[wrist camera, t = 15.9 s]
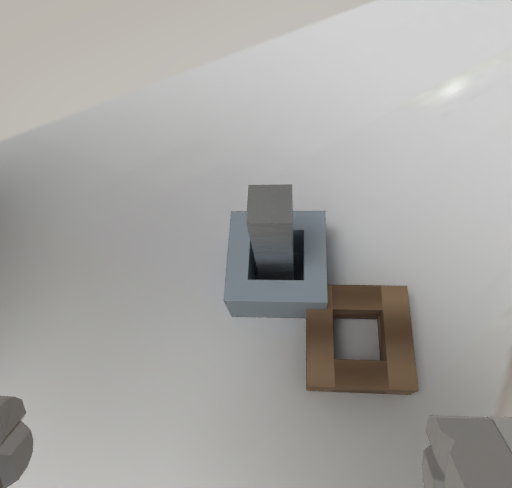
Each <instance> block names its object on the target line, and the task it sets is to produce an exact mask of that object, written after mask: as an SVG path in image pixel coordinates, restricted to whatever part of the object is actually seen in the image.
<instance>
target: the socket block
mask: <svg viewBox="0 0 512 488" xmlns="http://www.w3.org/2000/svg"><path fill="white" fill-rule="evenodd" d="M327 299H328V303H327V308H326V309H307V313H306V391H330V392H355V393H381V394H406V395H410V394H412V393H414V392H416V391H418V383H417V373H416V364H415V355H414V346H413V337H412V327H411V318H410V309H409V300H408V291H407V286H374V285H327ZM333 318H343V319H377V322H378V335H379V348H380V361H376V360H344V359H334V341H333Z"/></svg>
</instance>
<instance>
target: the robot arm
mask: <svg viewBox="0 0 512 488" xmlns="http://www.w3.org/2000/svg"><path fill="white" fill-rule="evenodd" d="M25 414H26V411H25V408H24V405H23V401H22V400H21V399H19V398H16V397H11V396H0V488H7V487H8V486H10V485H11V484H13V483H14V482H16V481H17V480H19V478H20V477H21V475H22V474H23V472H24V471H25V470H26V468H27V466H28V464H29V461H30V458H31V455H32V452H33V437H32V433H31V430H30V429H29V428H28V427H27V426H26V425H25V424H24V423H23V422H22V419H23V418H24V416H25ZM426 433H427V436H428V439H429V441H430V444H431V445H430V446H428V447H427V448H426V449H425V450H424V453H423V464H422V467H423V482H424V487H425V488H512V417H469V416H442V415H430V417H429V419H428V423H427V430H426Z"/></svg>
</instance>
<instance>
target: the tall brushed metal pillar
mask: <svg viewBox="0 0 512 488" xmlns="http://www.w3.org/2000/svg"><path fill="white" fill-rule="evenodd" d="M246 224H247V228H248V232H249V237H250V241H251V245H252V249H253V253H254V258H255V262H256V266H257V270H258V274H259V279H260V280H294V237H293V202H292V185H249V188H248V204H247V221H246Z"/></svg>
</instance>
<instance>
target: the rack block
mask: <svg viewBox="0 0 512 488" xmlns="http://www.w3.org/2000/svg"><path fill="white" fill-rule="evenodd" d="M246 221H247V211H231V219H230V232H229V244H228V256H227V268H226V280H225V292H224V302H225V304H226V306H227V308H228V310H229V312H230V314H231V316H232V317H277V318H306V313H307V309H326V308H327V303H328V299H327V258H326V218H325V211H293V237H294V252H304V280H254V272H255V258H254V253H253V249H252V245H251V241H250V237H249V232H248V228H247V224H246Z"/></svg>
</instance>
